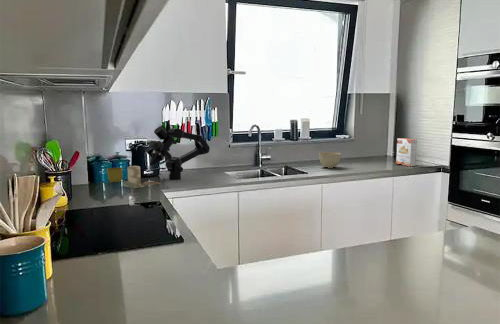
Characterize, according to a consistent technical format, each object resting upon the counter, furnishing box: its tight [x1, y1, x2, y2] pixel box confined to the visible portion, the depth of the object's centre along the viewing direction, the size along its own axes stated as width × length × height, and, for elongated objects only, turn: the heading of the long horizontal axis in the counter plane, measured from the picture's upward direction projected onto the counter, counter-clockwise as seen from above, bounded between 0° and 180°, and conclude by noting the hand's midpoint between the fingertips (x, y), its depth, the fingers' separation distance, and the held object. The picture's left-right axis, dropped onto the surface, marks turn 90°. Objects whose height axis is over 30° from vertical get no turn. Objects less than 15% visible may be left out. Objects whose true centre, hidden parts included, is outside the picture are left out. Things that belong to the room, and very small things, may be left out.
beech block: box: [126, 165, 142, 187], centre depth 217 cm, size 5×5×11 cm
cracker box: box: [395, 137, 418, 167], centre depth 297 cm, size 14×6×21 cm, turn 25°
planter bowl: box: [318, 151, 342, 169], centre depth 290 cm, size 16×16×11 cm
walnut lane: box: [122, 180, 162, 189], centre depth 221 cm, size 19×10×4 cm, turn 138°
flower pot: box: [106, 167, 123, 184], centre depth 233 cm, size 9×9×9 cm
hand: (150, 165), depth 224 cm, fingers closed
